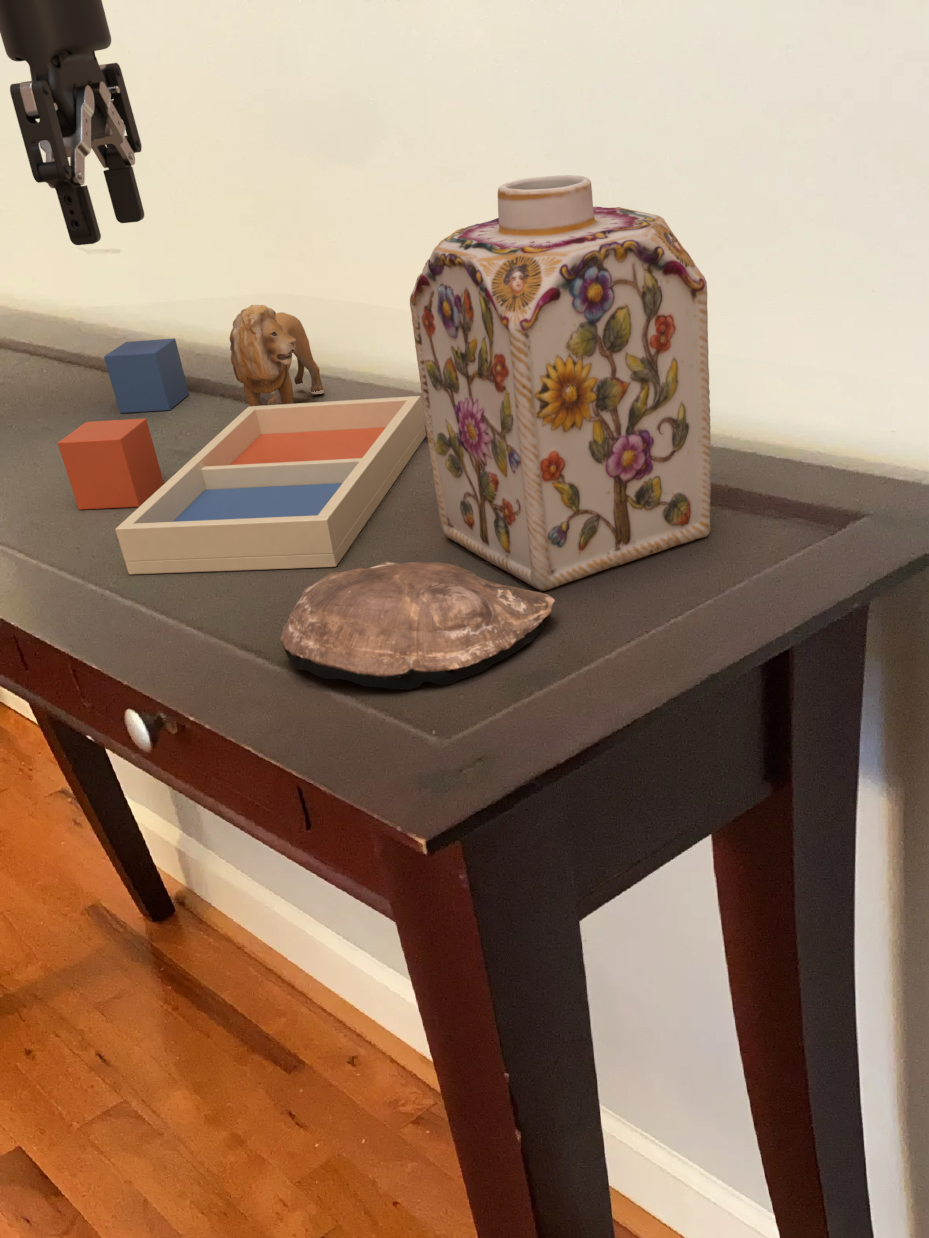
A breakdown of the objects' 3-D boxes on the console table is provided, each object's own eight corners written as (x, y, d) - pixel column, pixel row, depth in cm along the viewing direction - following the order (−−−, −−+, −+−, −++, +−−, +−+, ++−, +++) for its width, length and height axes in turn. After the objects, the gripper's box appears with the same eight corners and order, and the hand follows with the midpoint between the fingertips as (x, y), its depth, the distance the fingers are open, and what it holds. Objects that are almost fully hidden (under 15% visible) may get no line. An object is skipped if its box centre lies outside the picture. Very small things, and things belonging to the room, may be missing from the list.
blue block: (119, 413, 106) (103, 356, 103) (140, 397, 109) (125, 341, 106) (170, 410, 105) (154, 352, 102) (189, 394, 108) (175, 338, 106)
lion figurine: (313, 439, 94) (287, 307, 89) (242, 447, 94) (211, 316, 89) (328, 385, 106) (306, 266, 100) (265, 393, 106) (240, 274, 101)
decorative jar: (437, 538, 76) (387, 192, 65) (601, 487, 80) (580, 154, 69) (540, 598, 67) (502, 212, 56) (718, 538, 71) (715, 167, 60)
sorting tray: (128, 574, 76) (114, 528, 74) (257, 445, 94) (248, 406, 93) (336, 567, 74) (326, 519, 72) (426, 435, 92) (420, 395, 90)
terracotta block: (78, 510, 87) (57, 442, 84) (105, 487, 90) (85, 421, 87) (139, 507, 86) (119, 439, 83) (164, 484, 89) (146, 417, 87)
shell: (435, 717, 58) (423, 644, 56) (237, 668, 64) (220, 600, 62) (572, 615, 65) (566, 547, 63) (381, 580, 71) (370, 517, 69)
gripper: (36, -24, 96) (103, 220, 105) (-60, -15, 85) (24, 256, 94) (128, -37, 94) (187, 211, 104) (42, -30, 83) (117, 247, 93)
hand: (110, 232), depth 99 cm, fingers open, 8 cm apart
